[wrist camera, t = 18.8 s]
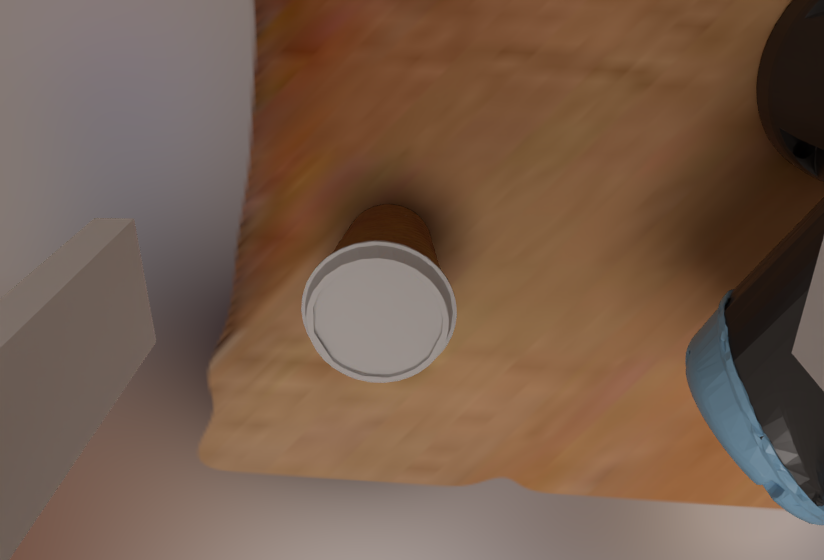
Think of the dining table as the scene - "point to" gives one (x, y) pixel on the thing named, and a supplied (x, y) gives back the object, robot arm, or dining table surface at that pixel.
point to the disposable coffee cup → (380, 299)
